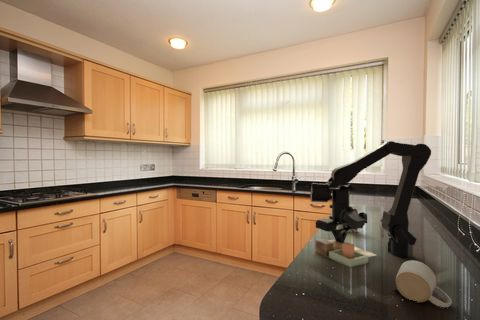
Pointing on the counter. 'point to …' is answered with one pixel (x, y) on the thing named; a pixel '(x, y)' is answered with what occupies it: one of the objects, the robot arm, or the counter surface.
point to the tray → (356, 261)
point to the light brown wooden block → (336, 244)
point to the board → (362, 252)
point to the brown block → (323, 247)
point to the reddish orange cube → (348, 250)
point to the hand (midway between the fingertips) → (340, 246)
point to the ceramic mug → (419, 283)
